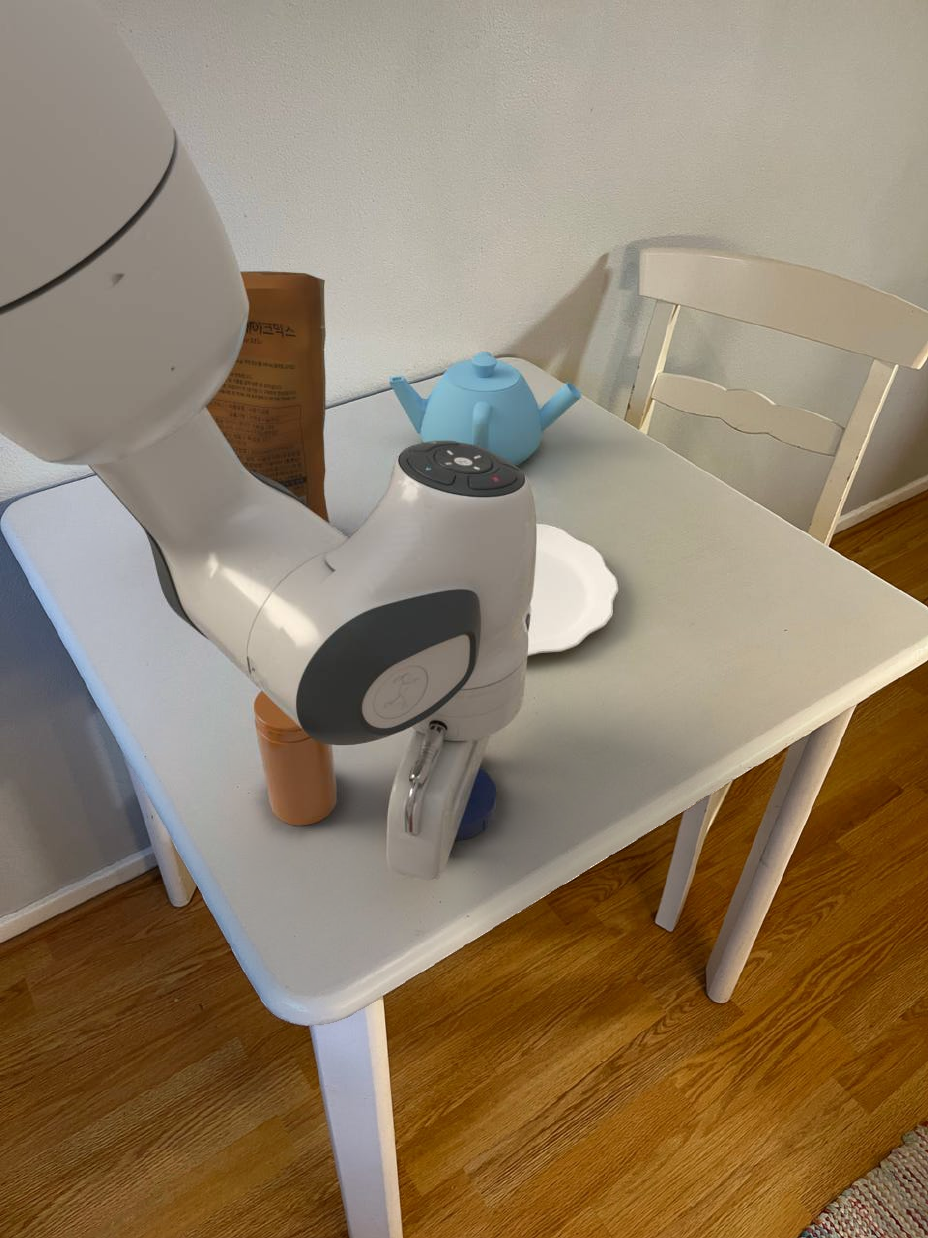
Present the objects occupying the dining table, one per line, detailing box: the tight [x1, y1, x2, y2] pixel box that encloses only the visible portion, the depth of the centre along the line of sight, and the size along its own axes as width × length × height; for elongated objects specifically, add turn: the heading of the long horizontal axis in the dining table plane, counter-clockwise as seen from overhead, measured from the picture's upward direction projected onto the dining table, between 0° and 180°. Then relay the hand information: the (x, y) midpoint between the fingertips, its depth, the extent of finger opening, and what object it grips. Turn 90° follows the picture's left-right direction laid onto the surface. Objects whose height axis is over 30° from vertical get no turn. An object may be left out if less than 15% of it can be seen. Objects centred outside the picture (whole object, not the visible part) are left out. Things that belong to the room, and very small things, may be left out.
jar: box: [253, 690, 338, 827], centre depth 64 cm, size 5×5×10 cm
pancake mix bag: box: [206, 270, 331, 525], centre depth 83 cm, size 7×19×28 cm, turn 84°
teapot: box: [389, 351, 582, 467], centre depth 104 cm, size 15×17×11 cm
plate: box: [527, 523, 619, 657], centre depth 86 cm, size 21×21×2 cm
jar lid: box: [454, 766, 497, 841], centre depth 67 cm, size 6×6×2 cm
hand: (454, 807), depth 67 cm, fingers closed on jar lid, 6 cm apart
